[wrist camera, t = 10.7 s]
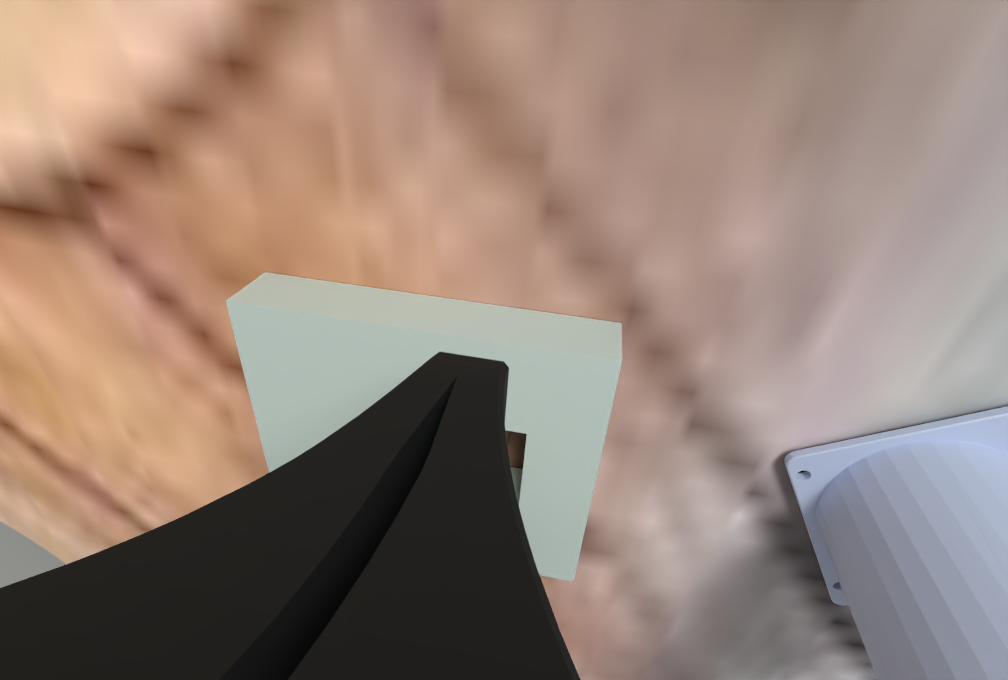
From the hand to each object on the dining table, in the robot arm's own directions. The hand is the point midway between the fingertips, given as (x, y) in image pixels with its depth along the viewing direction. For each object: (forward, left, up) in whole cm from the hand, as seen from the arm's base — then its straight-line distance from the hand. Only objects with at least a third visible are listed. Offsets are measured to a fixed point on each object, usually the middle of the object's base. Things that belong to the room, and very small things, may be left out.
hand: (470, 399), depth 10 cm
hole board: (-6, +8, -9) cm, 14 cm away
